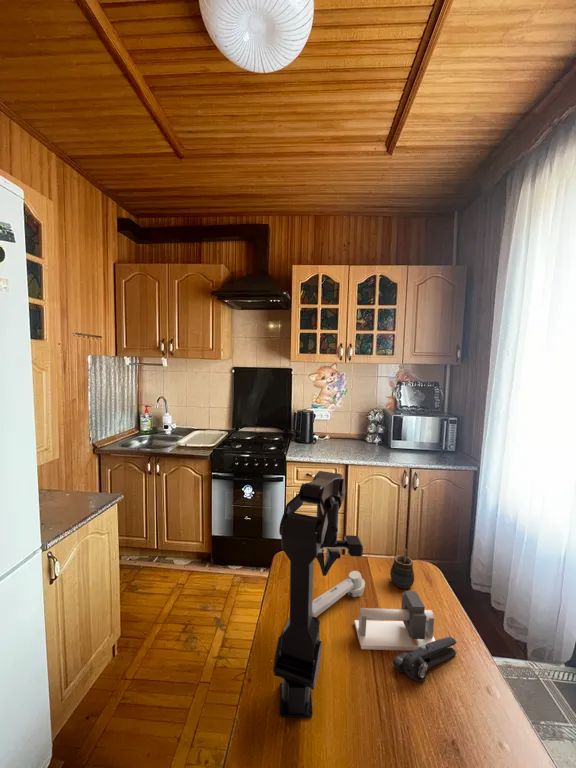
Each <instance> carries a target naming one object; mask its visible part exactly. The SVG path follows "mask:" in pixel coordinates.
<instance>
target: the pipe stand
mask: <svg viewBox="0 0 576 768" xmlns="http://www.w3.org/2000/svg"><path fill="white" fill-rule="evenodd" d="M358 613H359V615H358V617H359V618H358V619H355V620H354V627H355V630H356V634H357V639H358V642H359V646H360V649H361V650H375V651H376V650H379V651H381V650H384V651H411V652H412V651H414V650H416V649H418V648H420V647H421V645H426V644H428V643H430V642H433V641H436V640H437V639H436V638H435V637H434V625H435V617H434V613H433V610H432V609H425V610H424V613H425V615H426V627H425V639H412V637H410V636H409V633H408V631H407V629H406V627H405V625H404V622H403V621H409V620H410V613H409V611H408V609H401V608H377V607H376V608H371V607H360V608H359V612H358Z"/></svg>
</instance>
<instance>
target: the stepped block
mask: <svg viewBox="0 0 576 768" xmlns="http://www.w3.org/2000/svg"><path fill="white" fill-rule="evenodd" d="M401 597H402V598H401V608H400V609H408V611H409V613H410V620H409V621H403V622H404V625H405V627H406V629H407V631H408V633H409V636H410V637H412V639H425V627H426V615H425V613H424V610H426V609H425V607H426V606H425V605H424V603H423V602H422V600H421V598H420V596H419V594H418V593H417V591H414V590H404V592H402V595H401Z"/></svg>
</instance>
